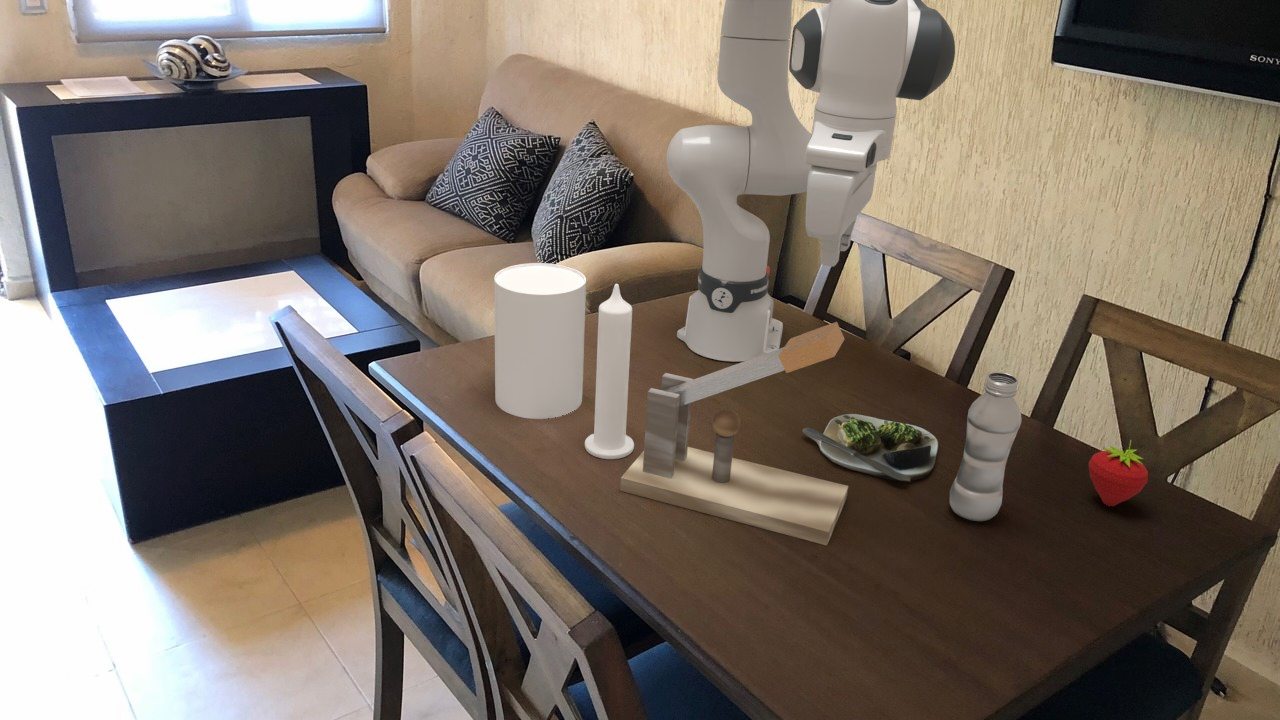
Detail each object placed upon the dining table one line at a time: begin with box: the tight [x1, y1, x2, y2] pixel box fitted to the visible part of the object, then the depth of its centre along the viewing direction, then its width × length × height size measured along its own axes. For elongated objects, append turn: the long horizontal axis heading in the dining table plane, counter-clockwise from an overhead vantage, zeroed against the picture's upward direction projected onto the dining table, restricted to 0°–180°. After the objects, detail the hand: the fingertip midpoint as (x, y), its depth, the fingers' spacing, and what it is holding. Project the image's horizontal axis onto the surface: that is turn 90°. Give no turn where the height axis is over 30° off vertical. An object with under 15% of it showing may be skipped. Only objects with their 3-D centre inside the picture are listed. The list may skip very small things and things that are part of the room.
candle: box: [584, 283, 635, 460], centre depth 139 cm, size 7×7×25 cm
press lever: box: [663, 321, 846, 407], centre depth 127 cm, size 6×26×2 cm
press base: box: [619, 372, 849, 546], centre depth 131 cm, size 12×28×14 cm, turn 68°
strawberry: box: [1088, 439, 1149, 507], centre depth 135 cm, size 6×8×10 cm
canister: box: [493, 262, 587, 420], centre depth 153 cm, size 14×14×20 cm
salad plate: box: [802, 413, 940, 482], centre depth 147 cm, size 19×18×5 cm
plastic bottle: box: [949, 371, 1022, 522], centre depth 129 cm, size 6×7×20 cm
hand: (835, 256), depth 117 cm, fingers open, 5 cm apart
